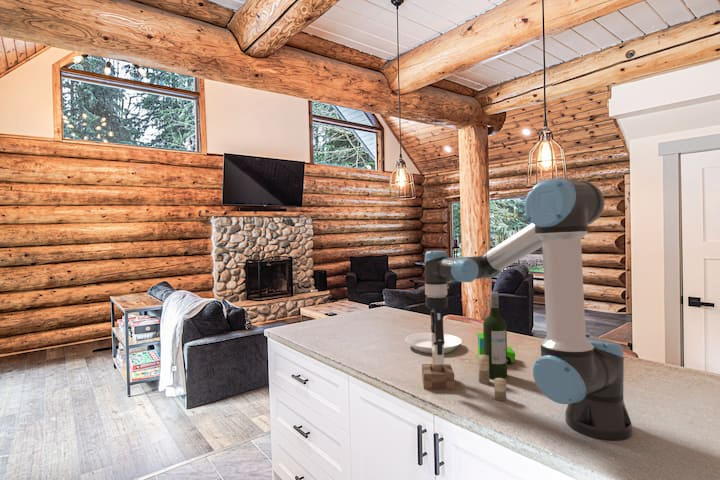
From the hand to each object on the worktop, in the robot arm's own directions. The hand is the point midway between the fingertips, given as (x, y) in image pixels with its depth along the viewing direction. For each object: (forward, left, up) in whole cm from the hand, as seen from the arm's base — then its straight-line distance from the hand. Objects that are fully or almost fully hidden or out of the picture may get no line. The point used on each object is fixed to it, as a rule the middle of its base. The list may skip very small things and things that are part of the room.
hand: (437, 357), depth 137 cm
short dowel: (-12, -18, -9) cm, 23 cm away
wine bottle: (+8, -21, -9) cm, 25 cm away
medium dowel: (+2, -16, -9) cm, 18 cm away
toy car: (+25, -25, -9) cm, 37 cm away
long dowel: (0, 0, -9) cm, 9 cm away
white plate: (+43, -2, -9) cm, 44 cm away
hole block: (0, 0, -9) cm, 9 cm away
